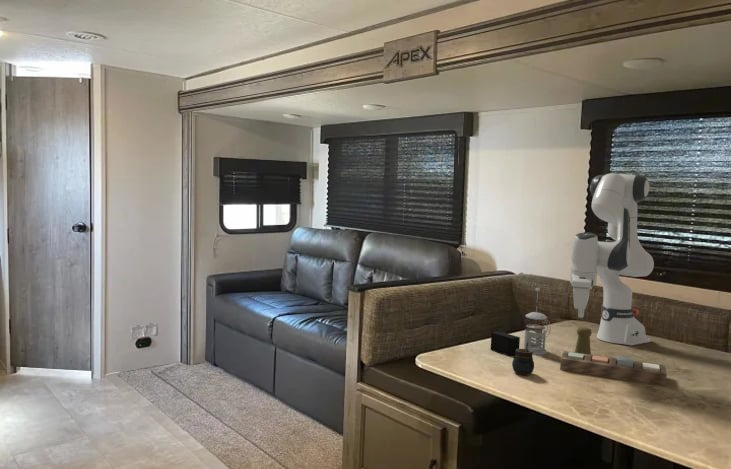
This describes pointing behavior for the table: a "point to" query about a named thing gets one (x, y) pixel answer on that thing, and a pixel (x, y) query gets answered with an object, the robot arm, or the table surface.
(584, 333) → the cork
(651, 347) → the table surface
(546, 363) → the table surface
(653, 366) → the cream key
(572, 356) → the sage key
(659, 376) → the key frame
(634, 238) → the robot arm
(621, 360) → the slate key
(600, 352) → the table surface
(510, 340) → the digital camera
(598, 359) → the terracotta key
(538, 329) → the french press
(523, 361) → the mate gourd
